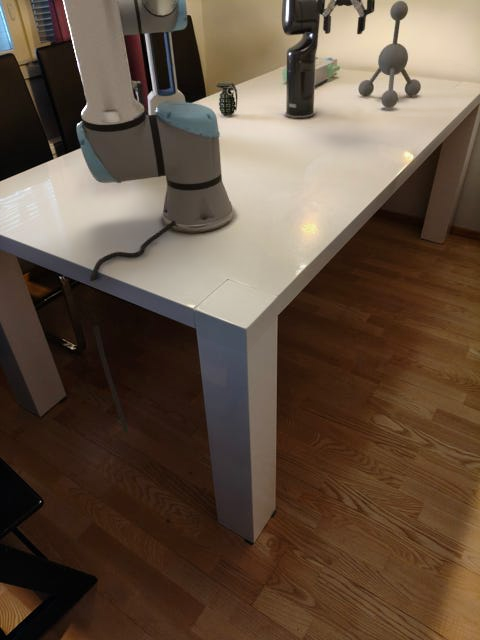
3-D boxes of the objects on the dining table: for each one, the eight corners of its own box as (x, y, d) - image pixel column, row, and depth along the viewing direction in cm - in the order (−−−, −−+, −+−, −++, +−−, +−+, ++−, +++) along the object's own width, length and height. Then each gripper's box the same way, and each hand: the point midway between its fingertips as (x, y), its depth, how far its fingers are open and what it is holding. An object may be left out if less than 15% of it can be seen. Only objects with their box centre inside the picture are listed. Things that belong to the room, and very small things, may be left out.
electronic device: (152, 140, 151) (135, 28, 133) (149, 133, 157) (132, 25, 139) (192, 134, 154) (180, 24, 135) (187, 128, 159) (175, 21, 141)
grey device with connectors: (305, 54, 216) (346, 57, 206) (304, 70, 220) (345, 74, 210) (274, 66, 200) (317, 69, 190) (274, 83, 204) (316, 87, 194)
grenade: (217, 117, 168) (214, 86, 162) (221, 112, 172) (219, 82, 166) (235, 117, 166) (233, 86, 160) (239, 113, 171) (238, 82, 165)
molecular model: (440, 102, 169) (459, -1, 151) (386, 111, 163) (400, 6, 145) (398, 88, 187) (412, -5, 168) (348, 96, 181) (356, 0, 162)
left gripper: (144, 51, 124) (157, 142, 139) (69, 60, 119) (91, 154, 134) (151, 56, 119) (165, 150, 133) (73, 66, 114) (96, 163, 128)
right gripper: (383, -47, 115) (374, 31, 125) (325, -45, 121) (322, 30, 131) (374, -46, 110) (366, 36, 120) (314, -43, 116) (311, 35, 126)
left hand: (128, 152), depth 133 cm, fingers closed on box, 6 cm apart
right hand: (343, 33), depth 125 cm, fingers open, 8 cm apart
